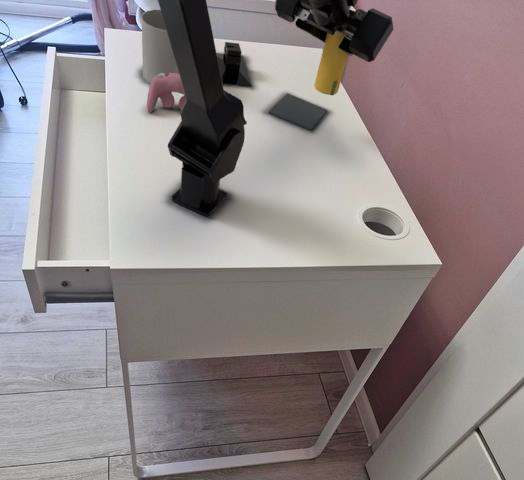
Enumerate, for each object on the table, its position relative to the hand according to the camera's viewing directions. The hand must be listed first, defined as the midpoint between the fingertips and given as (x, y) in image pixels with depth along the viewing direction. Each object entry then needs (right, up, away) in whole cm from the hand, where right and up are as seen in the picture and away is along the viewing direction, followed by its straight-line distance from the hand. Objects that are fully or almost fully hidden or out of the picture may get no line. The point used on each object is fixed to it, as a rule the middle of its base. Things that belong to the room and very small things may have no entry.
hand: (340, 47), depth 85 cm
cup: (-33, +1, +12) cm, 35 cm away
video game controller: (-29, -8, +6) cm, 31 cm away
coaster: (-6, -5, +13) cm, 15 cm away
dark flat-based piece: (-20, +6, +18) cm, 28 cm away
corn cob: (-2, -5, +4) cm, 7 cm away
